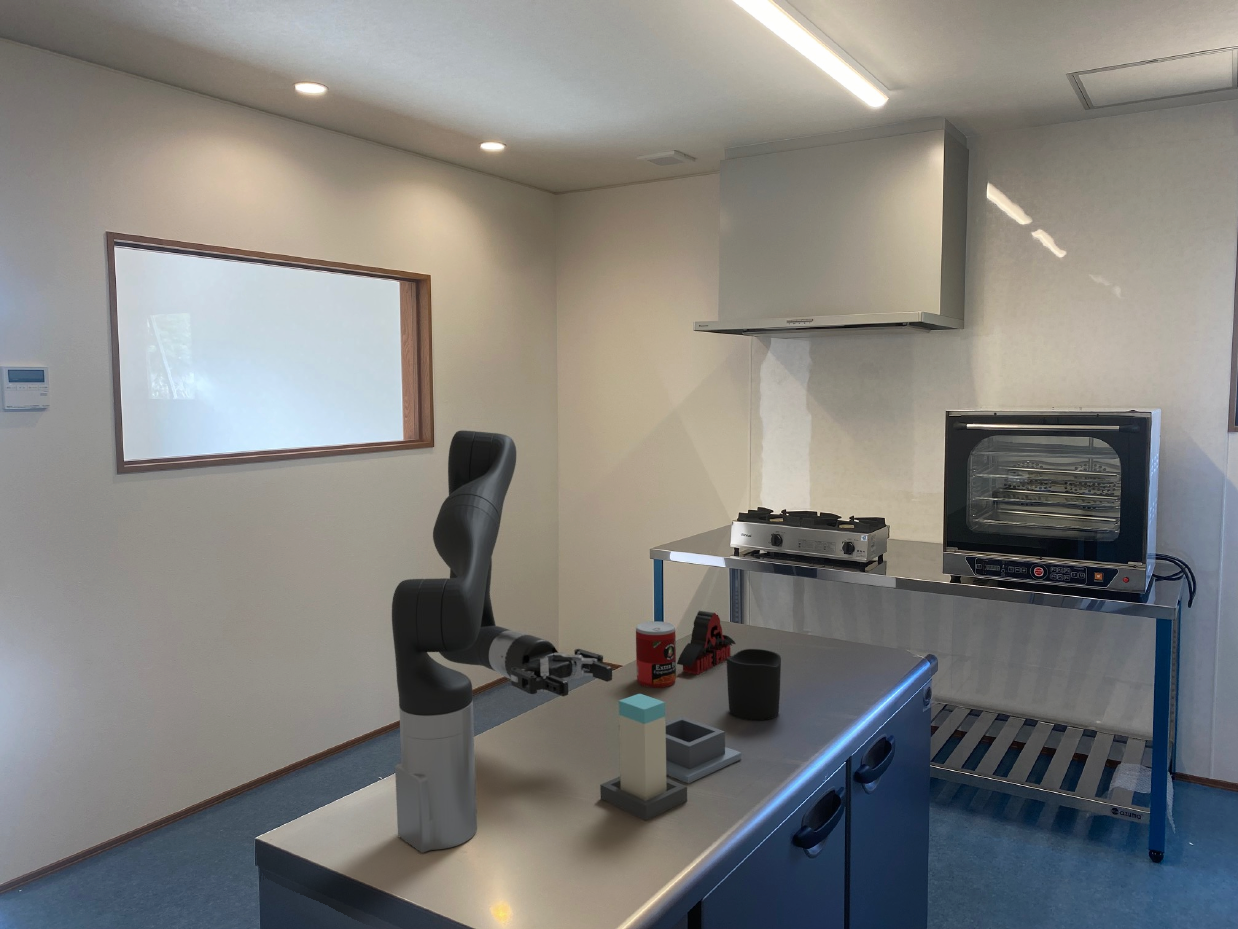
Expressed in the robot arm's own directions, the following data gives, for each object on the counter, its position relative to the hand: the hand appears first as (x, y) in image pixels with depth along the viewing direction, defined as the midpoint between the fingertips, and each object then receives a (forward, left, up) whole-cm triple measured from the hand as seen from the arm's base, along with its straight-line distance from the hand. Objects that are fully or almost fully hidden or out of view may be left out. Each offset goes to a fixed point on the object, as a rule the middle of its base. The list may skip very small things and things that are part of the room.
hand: (589, 681), depth 130 cm
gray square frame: (0, -11, -14) cm, 18 cm away
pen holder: (+37, -1, -14) cm, 40 cm away
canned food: (+37, +23, -14) cm, 46 cm away
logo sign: (+52, +23, -14) cm, 58 cm away
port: (+14, -6, -14) cm, 21 cm away
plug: (0, -11, -14) cm, 18 cm away
